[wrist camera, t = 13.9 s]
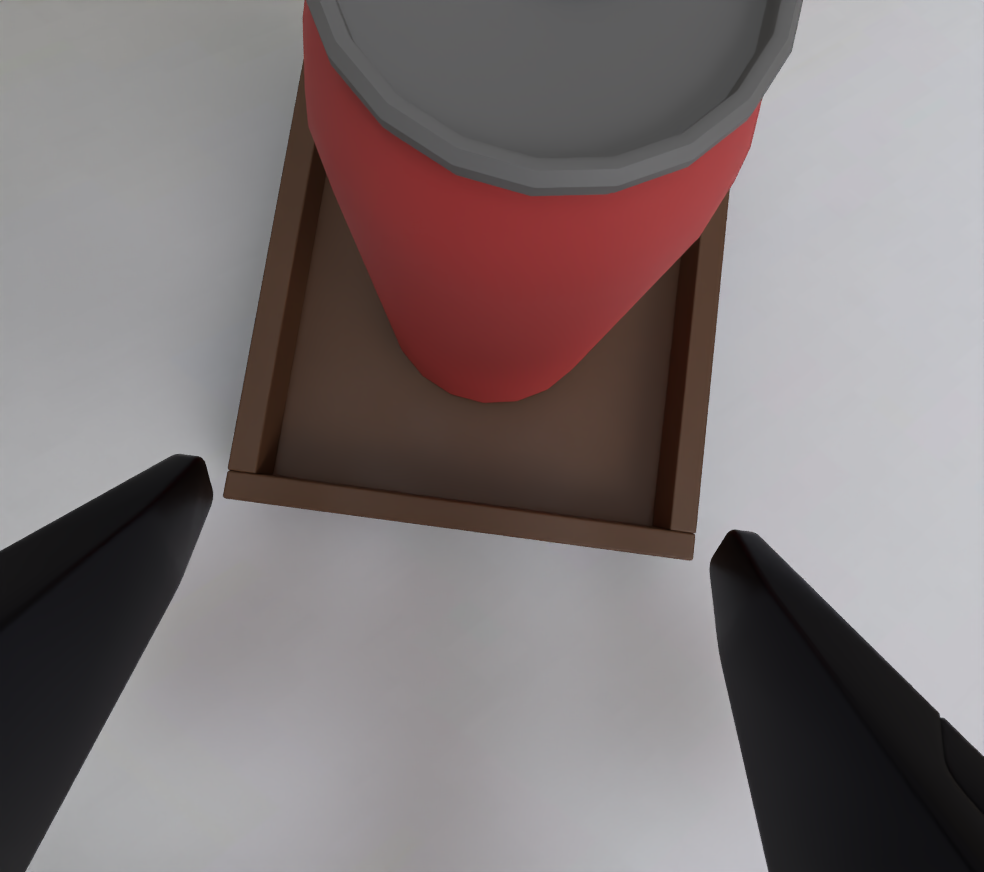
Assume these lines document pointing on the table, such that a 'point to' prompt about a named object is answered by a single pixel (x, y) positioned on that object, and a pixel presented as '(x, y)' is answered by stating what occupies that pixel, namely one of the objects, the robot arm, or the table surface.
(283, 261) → the tray
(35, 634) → the robot arm
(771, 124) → the table surface
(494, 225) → the beer can
